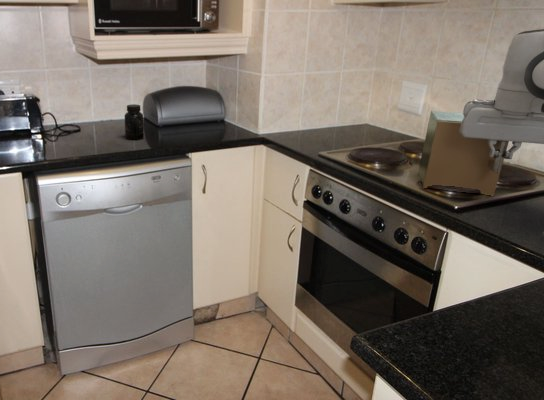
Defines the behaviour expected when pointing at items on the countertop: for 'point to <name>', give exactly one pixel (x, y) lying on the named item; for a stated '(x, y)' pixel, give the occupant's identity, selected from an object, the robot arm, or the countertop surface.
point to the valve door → (463, 160)
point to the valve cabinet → (429, 138)
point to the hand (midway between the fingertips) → (500, 157)
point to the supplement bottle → (134, 123)
